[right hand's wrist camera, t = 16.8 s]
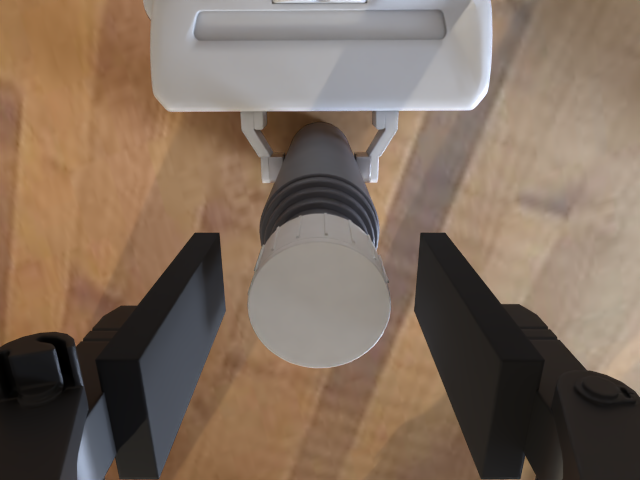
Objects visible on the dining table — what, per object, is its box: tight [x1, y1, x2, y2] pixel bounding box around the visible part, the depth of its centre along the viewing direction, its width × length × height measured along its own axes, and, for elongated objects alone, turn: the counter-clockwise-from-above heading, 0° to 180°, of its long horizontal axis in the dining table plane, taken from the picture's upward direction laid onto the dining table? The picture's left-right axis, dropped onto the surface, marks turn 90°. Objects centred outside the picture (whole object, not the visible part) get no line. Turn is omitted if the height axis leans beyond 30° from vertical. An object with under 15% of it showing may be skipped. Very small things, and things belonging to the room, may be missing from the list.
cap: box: [248, 213, 391, 368], centre depth 13 cm, size 4×4×2 cm
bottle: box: [260, 122, 379, 250], centre depth 24 cm, size 5×5×25 cm
